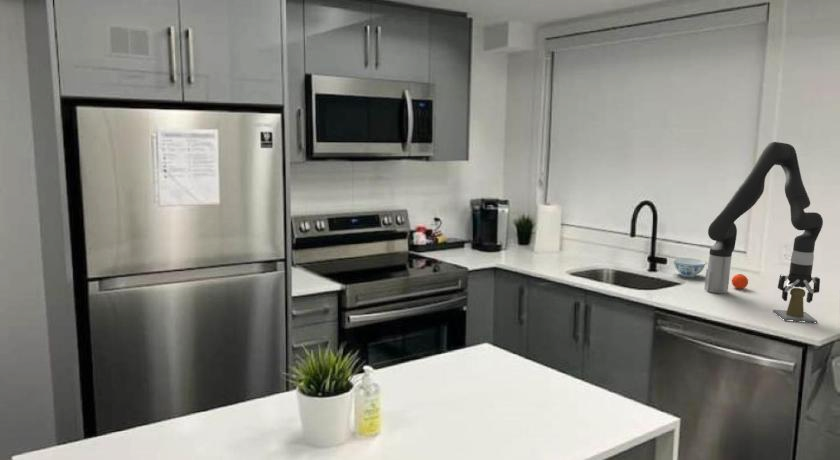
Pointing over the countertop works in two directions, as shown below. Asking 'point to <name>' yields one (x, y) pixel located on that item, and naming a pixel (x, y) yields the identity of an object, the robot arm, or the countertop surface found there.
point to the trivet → (786, 317)
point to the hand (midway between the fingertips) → (796, 301)
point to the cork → (796, 303)
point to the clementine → (739, 281)
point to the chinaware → (688, 266)
